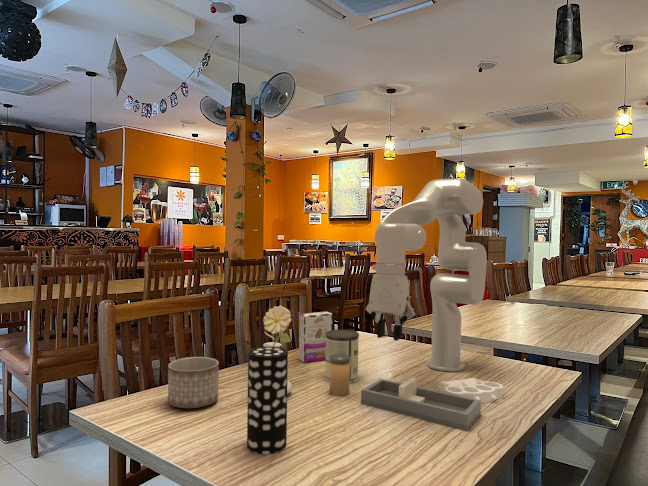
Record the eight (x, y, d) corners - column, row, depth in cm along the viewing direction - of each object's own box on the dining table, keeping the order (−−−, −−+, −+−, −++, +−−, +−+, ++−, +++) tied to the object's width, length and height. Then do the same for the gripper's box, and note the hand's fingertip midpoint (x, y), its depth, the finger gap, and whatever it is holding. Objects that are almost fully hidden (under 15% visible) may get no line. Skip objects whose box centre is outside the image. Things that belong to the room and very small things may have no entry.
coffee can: (326, 372, 149) (327, 328, 149) (358, 374, 148) (359, 330, 148) (323, 383, 139) (323, 336, 138) (357, 384, 138) (358, 337, 137)
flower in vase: (242, 393, 129) (243, 303, 128) (273, 383, 137) (274, 299, 137) (273, 406, 120) (274, 310, 119) (304, 395, 128) (306, 305, 128)
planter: (167, 397, 125) (167, 358, 125) (215, 392, 130) (215, 355, 129) (168, 415, 114) (169, 372, 113) (221, 409, 118) (221, 368, 118)
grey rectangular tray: (380, 391, 133) (380, 378, 132) (480, 414, 117) (480, 400, 117) (360, 403, 123) (361, 389, 123) (467, 430, 108) (467, 414, 108)
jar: (336, 387, 135) (336, 352, 135) (353, 391, 132) (354, 356, 132) (325, 393, 130) (325, 357, 130) (342, 397, 127) (343, 360, 127)
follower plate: (411, 395, 126) (411, 377, 126) (427, 399, 123) (427, 380, 123) (398, 405, 119) (398, 386, 119) (414, 409, 116) (415, 389, 116)
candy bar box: (326, 356, 168) (326, 311, 168) (332, 359, 164) (333, 313, 163) (297, 359, 163) (298, 313, 163) (303, 363, 159) (304, 315, 158)
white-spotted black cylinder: (248, 436, 103) (249, 346, 102) (286, 435, 103) (287, 346, 103) (245, 454, 94) (246, 357, 94) (286, 454, 95) (288, 357, 94)
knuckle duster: (478, 385, 141) (514, 402, 127) (428, 391, 134) (460, 410, 121) (478, 374, 141) (515, 390, 127) (428, 380, 134) (461, 398, 121)
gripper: (356, 269, 125) (354, 336, 126) (414, 273, 116) (412, 346, 117) (369, 267, 132) (367, 331, 132) (425, 271, 122) (424, 340, 123)
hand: (389, 337), depth 124 cm, fingers open, 4 cm apart
